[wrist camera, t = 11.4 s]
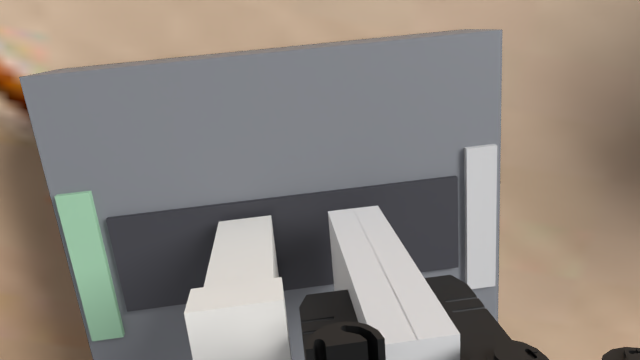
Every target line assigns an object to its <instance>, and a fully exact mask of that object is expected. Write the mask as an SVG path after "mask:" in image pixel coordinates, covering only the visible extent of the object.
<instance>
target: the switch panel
mask: <svg viewBox="0 0 640 360" xmlns="http://www.w3.org/2000/svg"><path fill="white" fill-rule="evenodd" d="M19 78H20V82H21V86H22V90H23V94H24V97H25V101H26V105H27V109H28V113H29V117H30V120H31V124H32V128H33V132H34V136H35V139H36V143H37V147H38V151H39V155H40V158H41V162H42V166H43V170H44V174H45V178H46V181H47V185H48V189H49V193H50V197H51V200H52V204H53V208H54V212H55V216H56V220H57V223H58V227H59V231H60V235H61V239H62V242H63V246H64V250H65V254H66V258H67V262H68V265H69V269H70V273H71V277H72V281H73V284H74V288H75V292H76V296H77V300H78V304H79V307H80V311H81V315H82V319H83V323H84V326H85V330H86V334H87V338H88V342H89V346H90V349H91V353H92V357H93V360H193V358H192V352H191V347H190V342H189V337H188V332H187V327H186V321H185V316H184V311H185V308H186V304H187V301H188V297H189V294H190V290H191V289H194V288H202V287H204V283H205V278H206V274H207V270H208V266H209V261H210V257H211V253H212V248H213V244H214V240H215V236H216V231H217V227H218V223H219V222H220V221H228V220H236V219H244V218H252V217H261V216H269V215H271V218H272V226H273V234H274V242H275V250H276V258H277V265H278V273H279V277H282V283H283V291H284V299H285V307H286V315H287V322H288V330H289V338H290V346H291V354H292V360H305V357H304V348H303V339H302V329H301V320H300V311H299V307H300V305H301V303H302V302H303V300H304V298H305V296H306V295H308V294H316V293H324V292H332V291H335V290H334V278H333V267H332V255H331V243H330V231H329V219H328V211H335V210H343V209H352V208H361V207H369V206H378V207H379V208H380V210H381V211H382V213H383V214H384V216H385V217H386V219H387V221H388V222H389V224H390V225H391V227H392V228H393V230H394V232H395V233H396V235H397V236H398V238H399V239H400V241H401V242H402V244H403V246H404V247H405V249H406V250H407V252H408V253H409V255H410V257H411V258H412V260H413V261H414V263H415V264H416V266H417V267H418V269H419V271H420V272H421V274H422V275H423V277H424V278H428V277H436V276H444V275H452V276H454V277H456V278H458V279H459V280H461V281H463V282H465V283H466V284H468V286H469V287H470V288H471V289H472V291H473V292H474V293H475V294H476V296H477V298H479V299H480V301H481V302H482V303H483V305H484V306H485V309H486V308H487V310H488V311H489V312H490V313H491V315H492V316H493V317H494V318H495V320H496V321H497V322H498V280H499V214H500V147H501V81H502V30H475V29H464V30H454V31H443V32H433V33H423V34H413V35H403V36H392V37H382V38H372V39H362V40H352V41H341V42H331V43H321V44H311V45H300V46H290V47H280V48H270V49H260V50H249V51H239V52H229V53H219V54H208V55H198V56H188V57H178V58H168V59H157V60H147V61H137V62H127V63H117V64H106V65H96V66H86V67H76V68H65V69H58V70H53V71H48V72H43V73H38V74H33V75H28V76H23V77H19Z"/></svg>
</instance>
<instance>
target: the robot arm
mask: <svg viewBox="0 0 640 360" xmlns="http://www.w3.org/2000/svg"><path fill="white" fill-rule="evenodd" d="M328 219H329V231H330V243H331V255H332V267H333V278H334V290H335V291H332V292H324V293H316V294H308V295H306V296H305V298H304V300H303V302H302V303H301V305H300V307H299V311H300V320H301V329H302V339H303V348H304V357H305V360H549V359H548V358H547V357H546V356H545V355H544V354H543V353H541V352H540V351H539V350H538V349H537V348H534V347H532V346H530V345H528V344H525V343H523V342H518V341H514V340H511V339H510V337H509V336H508V335H507V334H506V332H505V331H504V330H503V328H502V327H501V326H500V325H499V323H498V322H497V321H496V320H495V318H494V317H493V316H492V315H491V313H490V312H489V311H488V310H487V308H486V309H485V306H484V305H483V303H482V302H481V301H480V299H479V298H477V296H476V294H475V293H474V292H473V291H472V289H471V288H470V287H469V286H468V284H466V283H465V282H463V281H461V280H459V279H458V278H456V277H454V276H452V275H444V276H436V277H428V278H424V277H423V275H422V274H421V272H420V271H419V269H418V267H417V266H416V264H415V263H414V261H413V260H412V258H411V257H410V255H409V253H408V252H407V250H406V249H405V247H404V246H403V244H402V242H401V241H400V239H399V238H398V236H397V235H396V233H395V232H394V230H393V228H392V227H391V225H390V224H389V222H388V221H387V219H386V217H385V216H384V214H383V213H382V211H381V210H380V208H379V207H378V206H369V207H361V208H352V209H343V210H335V211H328ZM602 360H640V348H631V347H623V348H617V349H612V350H610V351H609V352H607V353H606V354H604V355H603V357H602Z"/></svg>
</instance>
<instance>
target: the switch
mask: <svg viewBox="0 0 640 360" xmlns="http://www.w3.org/2000/svg"><path fill="white" fill-rule="evenodd" d="M184 316H185V321H186V327H187V332H188V337H189V342H190V347H191V352H192V358H193V360H292V354H291V346H290V338H289V330H288V322H287V315H286V307H285V299H284V291H283V283H282V277H279V273H278V265H277V258H276V250H275V242H274V234H273V226H272V218H271V215H269V216H261V217H252V218H244V219H236V220H228V221H220V222H219V223H218V227H217V231H216V236H215V240H214V244H213V248H212V253H211V257H210V261H209V266H208V270H207V274H206V278H205V283H204V287H202V288H194V289H191V290H190V294H189V297H188V301H187V304H186V308H185V311H184Z"/></svg>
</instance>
